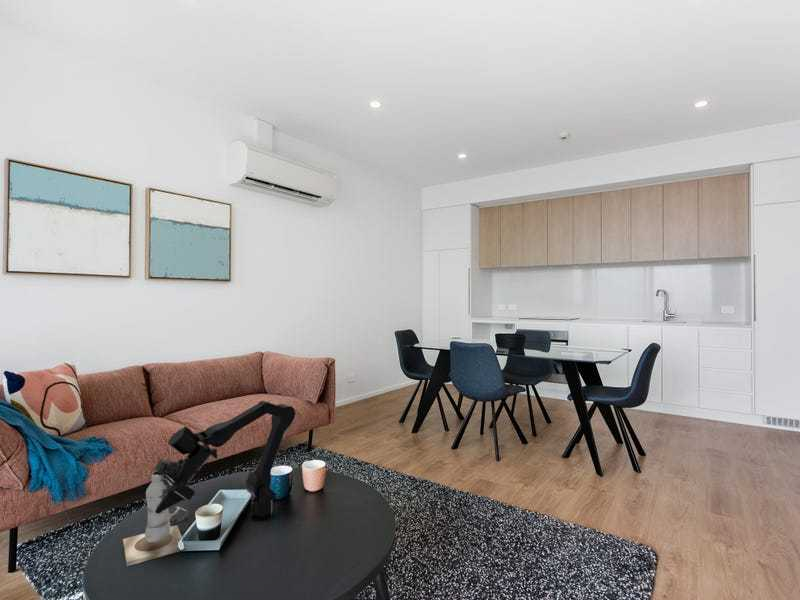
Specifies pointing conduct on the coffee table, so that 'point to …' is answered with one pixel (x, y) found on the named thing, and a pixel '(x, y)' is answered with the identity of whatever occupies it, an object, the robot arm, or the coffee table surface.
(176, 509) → the wristwatch
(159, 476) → the plastic bottle
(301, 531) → the coffee table surface
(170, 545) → the ash board
